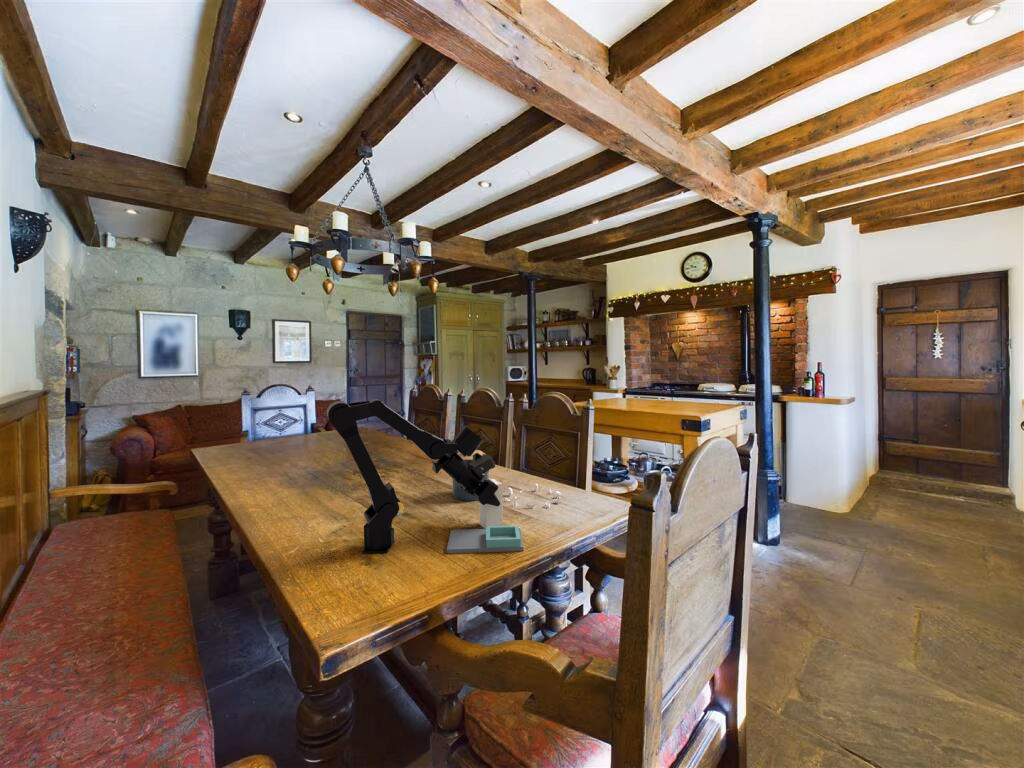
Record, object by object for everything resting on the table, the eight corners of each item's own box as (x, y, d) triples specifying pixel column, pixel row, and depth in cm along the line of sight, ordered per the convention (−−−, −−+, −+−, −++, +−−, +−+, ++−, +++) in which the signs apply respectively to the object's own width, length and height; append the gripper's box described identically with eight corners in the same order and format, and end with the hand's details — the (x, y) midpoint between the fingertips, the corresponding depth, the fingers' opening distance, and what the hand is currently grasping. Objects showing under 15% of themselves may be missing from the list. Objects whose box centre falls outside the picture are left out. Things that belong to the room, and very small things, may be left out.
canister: (445, 498, 146) (444, 448, 145) (463, 488, 158) (462, 441, 157) (478, 503, 141) (478, 450, 140) (495, 492, 153) (494, 443, 152)
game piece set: (492, 500, 145) (492, 489, 145) (532, 488, 159) (532, 477, 159) (535, 515, 131) (535, 503, 131) (574, 499, 145) (574, 488, 145)
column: (486, 530, 119) (486, 483, 118) (479, 524, 124) (479, 479, 123) (502, 526, 121) (502, 481, 121) (495, 521, 126) (494, 476, 125)
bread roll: (404, 507, 139) (403, 495, 139) (403, 517, 130) (403, 504, 130) (377, 509, 137) (377, 497, 137) (375, 519, 128) (374, 506, 128)
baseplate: (446, 553, 105) (446, 541, 105) (451, 533, 117) (451, 522, 117) (523, 551, 106) (523, 539, 106) (520, 531, 118) (520, 520, 118)
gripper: (490, 453, 111) (528, 488, 117) (465, 441, 128) (499, 472, 133) (462, 487, 108) (502, 521, 114) (440, 470, 125) (476, 501, 130)
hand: (495, 502), depth 123 cm, fingers open, 5 cm apart
